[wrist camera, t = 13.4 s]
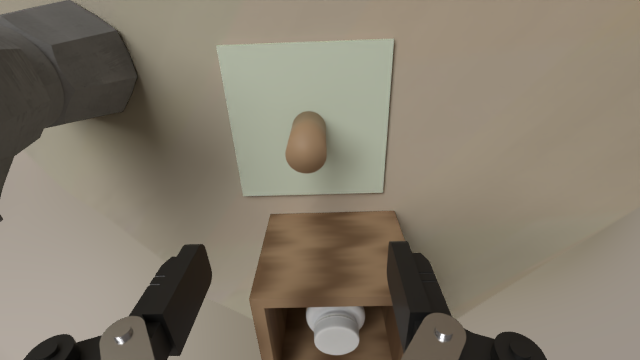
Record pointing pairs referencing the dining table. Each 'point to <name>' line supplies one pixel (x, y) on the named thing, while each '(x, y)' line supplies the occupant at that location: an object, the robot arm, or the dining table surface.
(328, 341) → the supplement bottle
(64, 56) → the coffeepot
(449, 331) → the robot arm
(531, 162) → the dining table surface
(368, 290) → the box
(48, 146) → the dining table surface
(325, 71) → the lid
